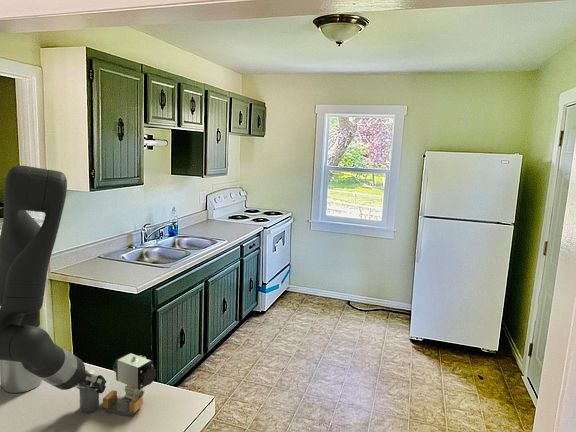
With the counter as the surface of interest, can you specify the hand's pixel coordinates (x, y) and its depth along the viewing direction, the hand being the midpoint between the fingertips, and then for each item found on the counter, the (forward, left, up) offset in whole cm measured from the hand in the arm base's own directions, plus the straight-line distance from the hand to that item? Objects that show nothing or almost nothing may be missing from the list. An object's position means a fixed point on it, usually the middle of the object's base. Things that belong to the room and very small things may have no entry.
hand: (93, 387), depth 110 cm
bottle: (0, -2, -5) cm, 5 cm away
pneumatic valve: (+8, +6, -5) cm, 12 cm away
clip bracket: (+8, 0, -5) cm, 10 cm away
